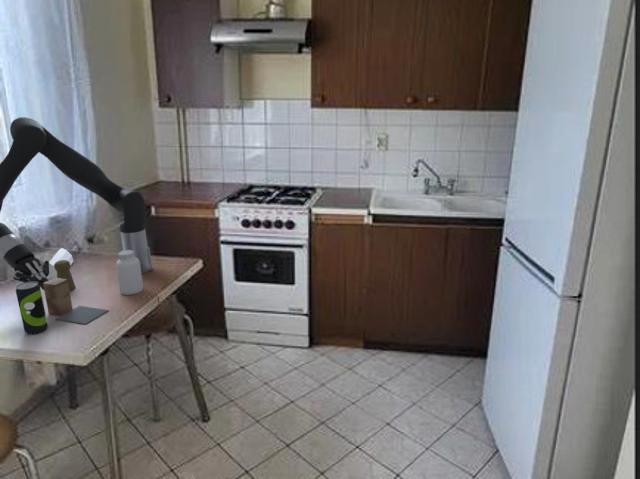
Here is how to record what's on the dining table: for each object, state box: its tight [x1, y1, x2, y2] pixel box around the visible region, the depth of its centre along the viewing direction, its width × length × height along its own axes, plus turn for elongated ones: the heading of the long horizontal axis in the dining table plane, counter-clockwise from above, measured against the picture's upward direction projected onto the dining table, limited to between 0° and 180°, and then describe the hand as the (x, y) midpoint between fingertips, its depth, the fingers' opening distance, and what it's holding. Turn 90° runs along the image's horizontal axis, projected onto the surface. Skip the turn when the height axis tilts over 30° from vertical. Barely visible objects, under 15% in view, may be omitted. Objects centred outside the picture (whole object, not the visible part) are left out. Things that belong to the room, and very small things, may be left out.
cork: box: [54, 260, 76, 292], centre depth 174 cm, size 6×6×11 cm
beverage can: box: [15, 281, 49, 335], centre depth 143 cm, size 6×6×15 cm
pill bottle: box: [115, 250, 144, 296], centre depth 171 cm, size 8×8×15 cm
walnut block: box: [43, 278, 74, 317], centre depth 156 cm, size 5×5×11 cm
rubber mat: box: [55, 305, 109, 326], centre depth 154 cm, size 12×10×1 cm
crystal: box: [47, 247, 74, 280], centre depth 194 cm, size 7×7×24 cm
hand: (49, 289), depth 156 cm, fingers closed
